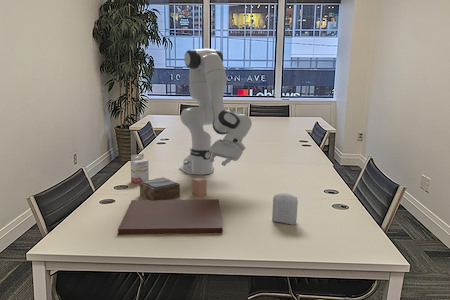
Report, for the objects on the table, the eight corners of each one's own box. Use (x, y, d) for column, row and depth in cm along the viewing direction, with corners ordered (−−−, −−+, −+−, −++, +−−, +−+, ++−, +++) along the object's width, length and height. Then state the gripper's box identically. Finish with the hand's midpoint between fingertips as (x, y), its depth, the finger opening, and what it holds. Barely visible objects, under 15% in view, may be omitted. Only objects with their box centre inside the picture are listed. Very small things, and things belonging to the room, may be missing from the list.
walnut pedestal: (140, 195, 202) (139, 181, 200) (164, 189, 211) (163, 176, 209) (155, 202, 192) (154, 188, 190) (179, 196, 201) (179, 182, 199)
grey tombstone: (297, 221, 171) (299, 193, 168) (295, 225, 167) (296, 196, 164) (273, 218, 175) (274, 190, 172) (270, 221, 171) (271, 193, 168)
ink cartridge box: (135, 183, 220) (134, 157, 217) (130, 181, 224) (129, 155, 221) (149, 180, 226) (148, 154, 223) (144, 178, 230) (143, 153, 227)
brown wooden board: (222, 235, 159) (219, 205, 191) (222, 227, 158) (219, 199, 190) (118, 236, 157) (132, 206, 189) (117, 229, 156) (131, 200, 188)
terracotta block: (192, 194, 204) (192, 179, 202) (200, 192, 207) (200, 177, 205) (198, 197, 200) (198, 181, 198) (206, 195, 203) (206, 179, 202)
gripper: (215, 135, 217) (200, 156, 213) (241, 141, 202) (226, 163, 198) (221, 142, 221) (207, 162, 217) (248, 148, 206) (233, 170, 202)
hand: (216, 163), depth 208 cm, fingers open, 8 cm apart
